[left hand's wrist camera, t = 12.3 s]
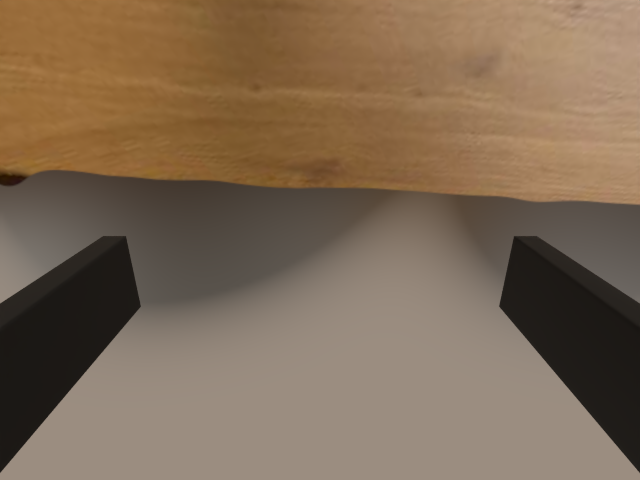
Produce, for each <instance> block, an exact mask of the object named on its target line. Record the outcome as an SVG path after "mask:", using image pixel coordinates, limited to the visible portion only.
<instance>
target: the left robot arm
mask: <svg viewBox="0 0 640 480" xmlns="http://www.w3.org/2000/svg"><path fill="white" fill-rule="evenodd" d="M140 307H141V306H140V301H139V296H138V291H137V287H136V282H135V277H134V272H133V268H132V263H131V258H130V254H129V249H128V244H127V239H126V236H103V237H101V238H100V239H98V240H97V241H95V242H94V243H92V244H91V245H89V246H88V247H86V248H85V249H83V250H82V251H80V252H78V253H77V254H75V255H74V256H72V257H71V258H69V259H68V260H66V261H65V262H63V263H62V264H60V265H59V266H57V267H55V268H54V269H52V270H51V271H49V272H48V273H46V274H45V275H43V276H42V277H40V278H39V279H37V280H36V281H34V282H33V283H31V284H30V285H28V286H26V287H25V288H23V289H22V290H20V291H19V292H17V293H16V294H14V295H13V296H11V297H10V298H8V299H7V300H5V301H3V302H2V303H0V472H1V471H2V470H3V469H4V468H5V466H6V465H7V464H8V463H9V462H10V461H11V459H12V458H13V457H14V456H15V455H16V453H17V452H18V451H19V450H20V449H21V448H22V446H23V445H24V444H25V443H26V442H27V440H28V439H29V438H30V437H31V436H32V435H33V433H34V432H35V431H36V430H37V429H38V427H39V426H40V425H41V424H42V423H43V422H44V420H45V419H46V418H47V417H48V416H49V414H50V413H51V412H52V411H53V410H54V408H55V407H56V406H57V405H58V404H59V403H60V401H61V400H62V399H63V398H64V397H65V395H66V394H67V393H68V392H69V391H70V390H71V388H72V387H73V386H74V385H75V384H76V382H77V381H78V380H79V379H80V378H81V376H82V375H83V374H84V373H85V372H86V371H87V369H88V368H89V367H90V366H91V365H92V363H93V362H94V361H95V360H96V359H97V358H98V356H99V355H100V354H101V353H102V352H103V351H104V349H105V348H106V347H107V346H108V345H109V343H110V342H111V341H112V340H113V339H114V338H115V336H116V335H117V334H118V333H119V332H120V330H121V329H122V328H123V327H124V326H125V324H126V323H127V322H128V321H129V320H130V319H131V317H132V316H133V315H134V314H135V313H136V311H137V310H138V309H139V308H140ZM499 307H500V308H501V309H502V310H503V311H504V313H505V314H506V315H507V316H508V317H509V319H510V320H511V321H512V322H513V323H514V324H515V326H516V327H517V328H518V329H519V330H520V332H521V333H522V334H523V335H524V336H525V338H526V339H527V340H528V341H529V342H530V343H531V345H532V346H533V347H534V348H535V349H536V351H537V352H538V353H539V354H540V355H541V356H542V358H543V359H544V360H545V361H546V362H547V364H548V365H549V366H550V367H551V368H552V369H553V371H554V372H555V373H556V374H557V375H558V377H559V378H560V379H561V380H562V381H563V382H564V384H565V385H566V386H567V387H568V388H569V390H570V391H571V392H572V393H573V394H574V396H575V397H576V398H577V399H578V400H579V401H580V403H581V404H582V405H583V406H584V407H585V408H586V410H587V411H588V412H589V413H590V414H591V416H592V417H593V418H594V419H595V420H596V422H597V423H598V424H599V425H600V426H601V427H602V429H603V430H604V431H605V432H606V433H607V435H608V436H609V437H610V438H611V439H612V440H613V442H614V443H615V444H616V445H617V446H618V448H619V449H620V450H621V451H622V452H623V453H624V455H625V456H626V457H627V458H628V459H629V461H630V462H631V463H632V464H633V465H634V466H635V468H636V469H637V470H638V471H639V472H640V303H638V302H637V301H635V300H633V299H632V298H630V297H629V296H627V295H626V294H624V293H623V292H621V291H620V290H618V289H617V288H615V287H613V286H612V285H611V284H609V283H607V282H606V281H604V280H603V279H601V278H600V277H598V276H597V275H595V274H594V273H592V272H591V271H589V270H587V269H586V268H584V267H583V266H582V265H580V264H578V263H577V262H575V261H574V260H572V259H571V258H569V257H568V256H566V255H565V254H563V253H562V252H560V251H559V250H557V249H556V248H554V247H552V246H551V245H549V244H548V243H546V242H545V241H543V240H542V239H540V238H539V237H537V236H514V239H513V244H512V249H511V254H510V258H509V263H508V268H507V272H506V277H505V282H504V287H503V291H502V296H501V301H500V305H499Z"/></svg>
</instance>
